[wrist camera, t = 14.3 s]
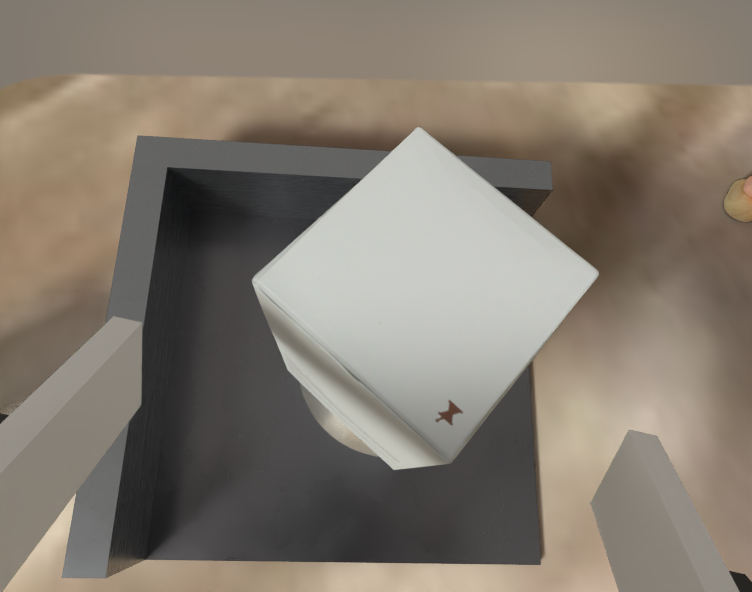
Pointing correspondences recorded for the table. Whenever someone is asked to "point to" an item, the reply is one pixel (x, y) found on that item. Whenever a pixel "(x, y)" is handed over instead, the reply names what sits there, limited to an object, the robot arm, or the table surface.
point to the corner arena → (273, 390)
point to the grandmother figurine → (740, 200)
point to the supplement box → (418, 302)
